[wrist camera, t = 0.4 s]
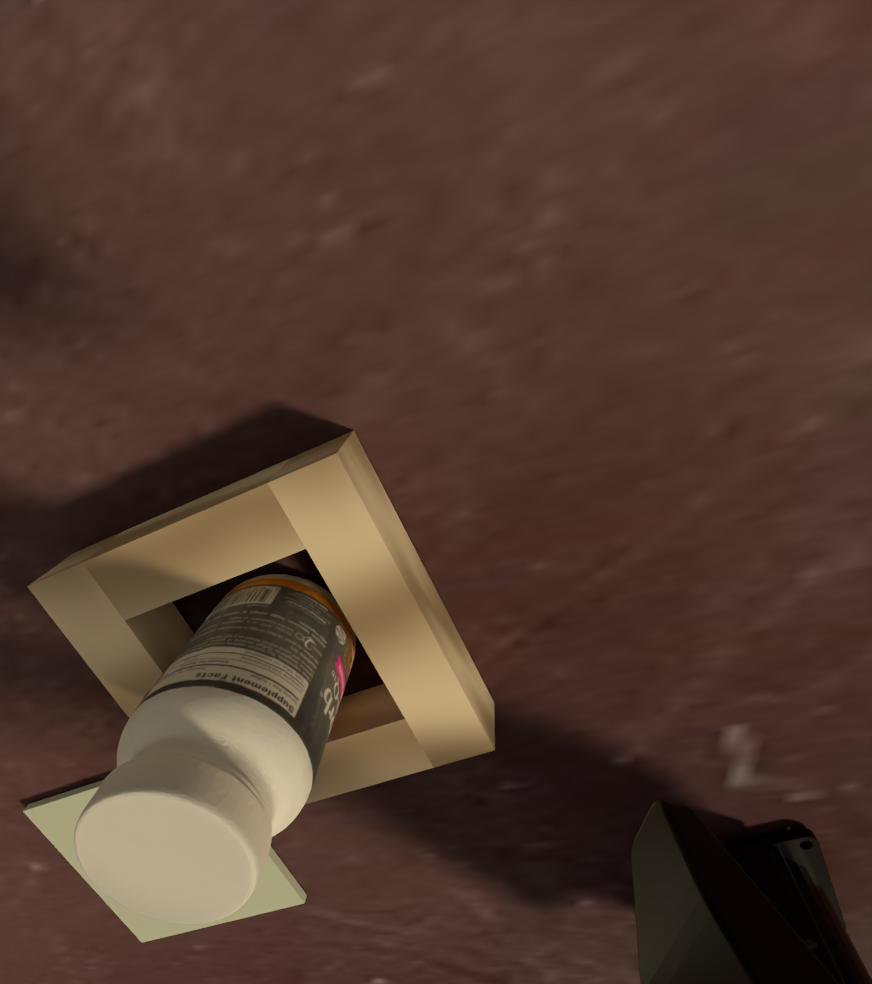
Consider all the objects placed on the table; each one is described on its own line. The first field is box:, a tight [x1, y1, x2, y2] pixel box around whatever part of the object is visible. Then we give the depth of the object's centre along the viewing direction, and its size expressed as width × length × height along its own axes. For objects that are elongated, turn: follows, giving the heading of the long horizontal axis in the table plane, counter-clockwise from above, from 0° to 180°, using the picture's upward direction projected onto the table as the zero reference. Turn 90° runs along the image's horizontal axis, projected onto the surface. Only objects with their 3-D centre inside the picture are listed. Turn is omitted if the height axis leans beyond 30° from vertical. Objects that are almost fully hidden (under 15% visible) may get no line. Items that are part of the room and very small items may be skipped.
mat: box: [23, 780, 307, 943], centre depth 29 cm, size 10×10×1 cm
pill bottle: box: [74, 574, 356, 924], centre depth 19 cm, size 6×6×10 cm
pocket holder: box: [27, 431, 495, 804], centre depth 23 cm, size 12×12×2 cm
